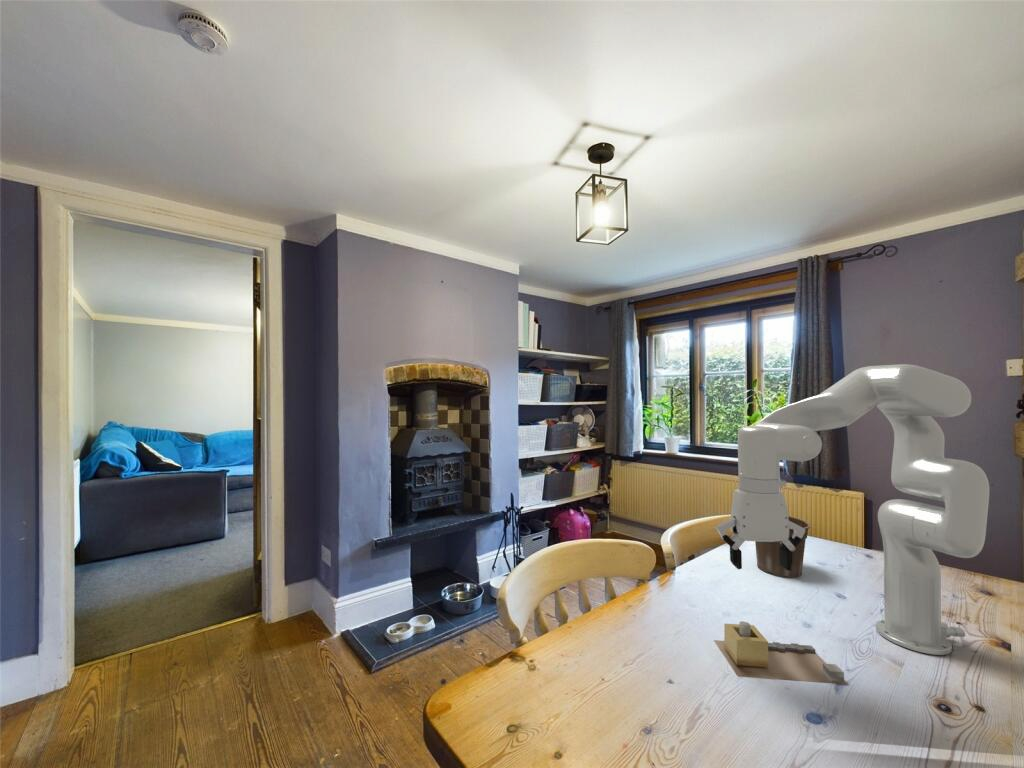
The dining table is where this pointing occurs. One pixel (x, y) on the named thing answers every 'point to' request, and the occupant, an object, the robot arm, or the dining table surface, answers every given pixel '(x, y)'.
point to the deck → (787, 663)
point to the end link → (746, 646)
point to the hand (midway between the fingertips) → (760, 567)
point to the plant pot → (770, 554)
